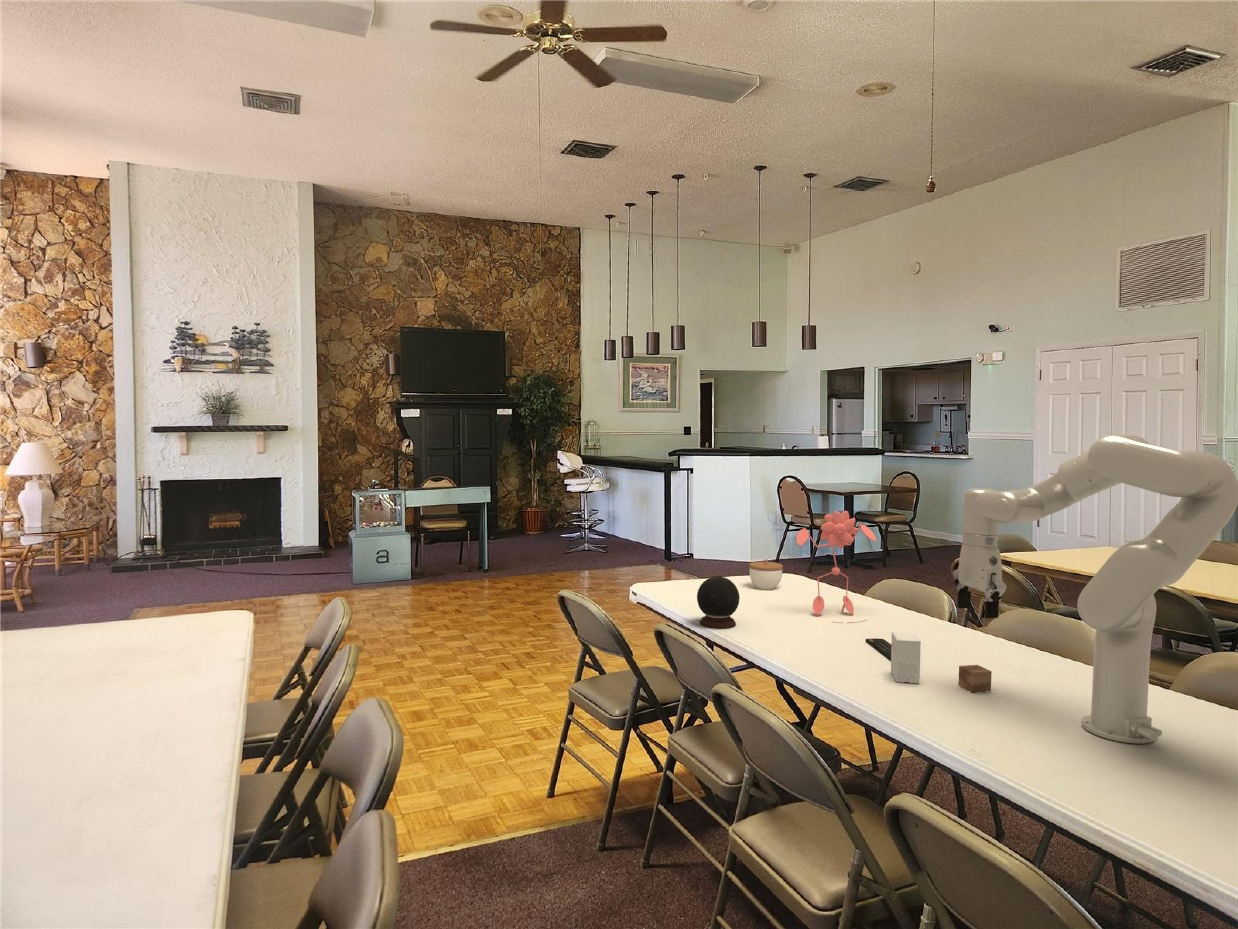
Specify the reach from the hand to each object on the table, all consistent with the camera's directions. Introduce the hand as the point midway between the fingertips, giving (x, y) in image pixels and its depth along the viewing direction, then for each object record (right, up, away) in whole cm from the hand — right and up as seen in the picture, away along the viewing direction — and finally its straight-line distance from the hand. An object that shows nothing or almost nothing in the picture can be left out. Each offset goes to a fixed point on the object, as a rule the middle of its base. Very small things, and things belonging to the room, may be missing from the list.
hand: (977, 612), depth 179 cm
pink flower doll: (-14, -15, +67) cm, 70 cm away
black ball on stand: (-54, -15, +57) cm, 80 cm away
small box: (-14, -18, +8) cm, 24 cm away
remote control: (-10, -18, +28) cm, 35 cm away
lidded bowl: (-29, -13, +111) cm, 115 cm away
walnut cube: (0, -18, +1) cm, 18 cm away
